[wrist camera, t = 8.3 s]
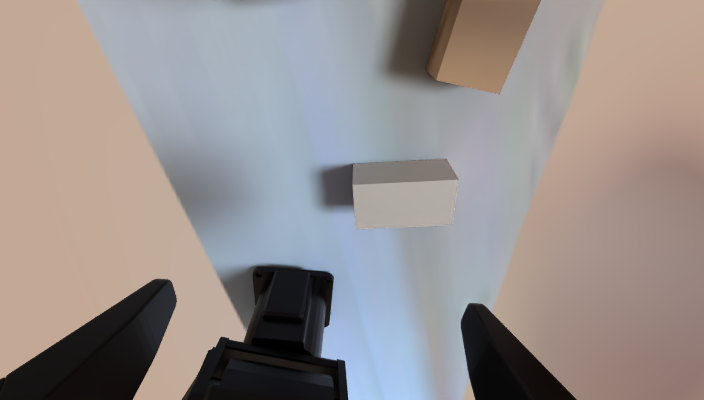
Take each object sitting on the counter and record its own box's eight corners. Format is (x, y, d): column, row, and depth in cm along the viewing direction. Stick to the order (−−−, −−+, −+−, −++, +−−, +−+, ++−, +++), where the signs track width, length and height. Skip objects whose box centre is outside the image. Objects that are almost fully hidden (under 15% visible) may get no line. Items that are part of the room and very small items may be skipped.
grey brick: (445, 157, 20) (458, 179, 17) (441, 199, 22) (452, 225, 19) (353, 162, 20) (352, 184, 18) (356, 203, 22) (355, 229, 19)
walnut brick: (479, 81, 17) (499, 94, 15) (424, 69, 17) (436, 80, 15) (532, -53, 14) (569, -66, 12) (466, -70, 14) (490, -88, 11)
